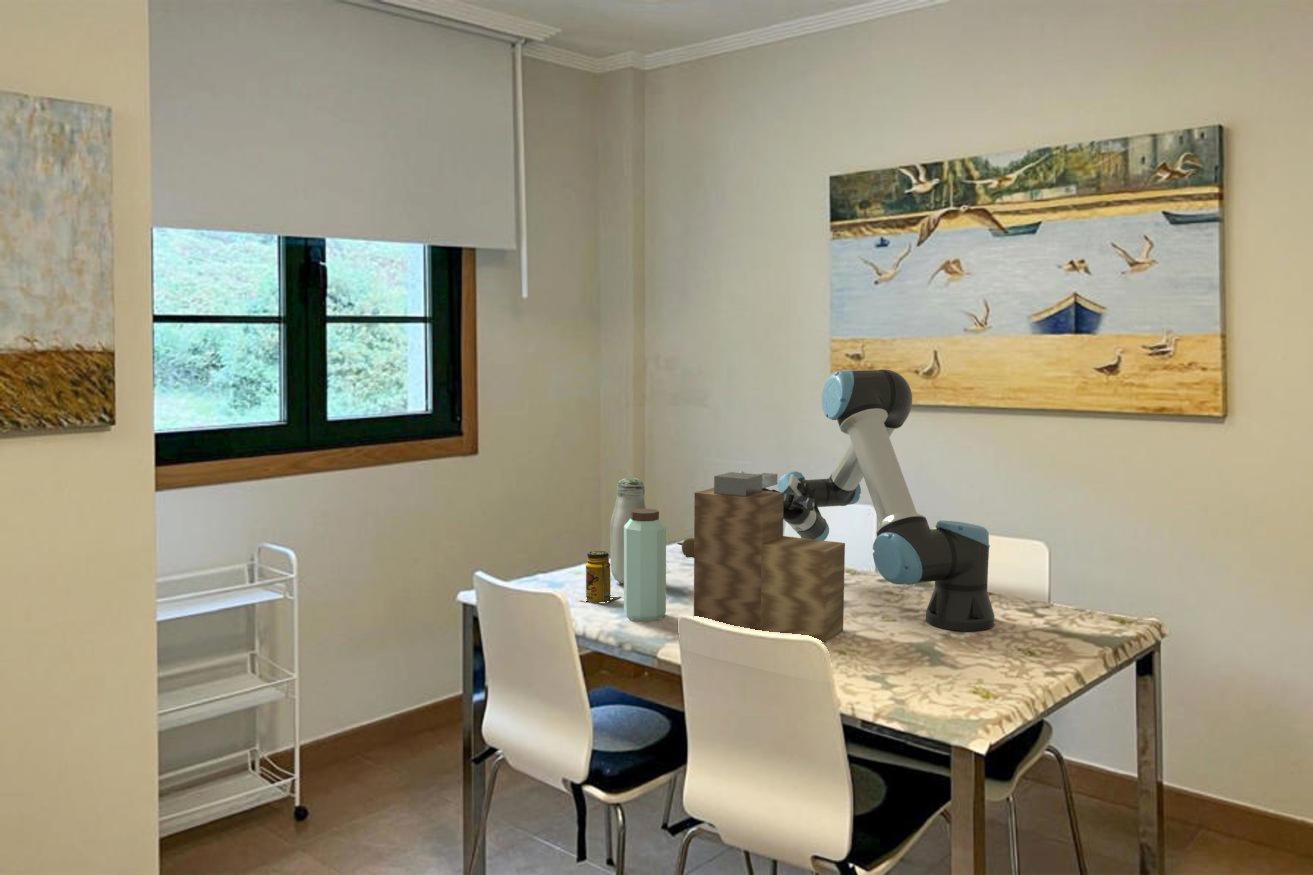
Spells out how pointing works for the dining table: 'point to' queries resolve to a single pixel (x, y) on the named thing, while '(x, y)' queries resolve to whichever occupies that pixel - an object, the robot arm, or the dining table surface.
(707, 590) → the stepped stand
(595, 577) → the condiment
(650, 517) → the water bottle
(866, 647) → the dining table surface
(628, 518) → the glass bottle
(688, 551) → the kendama
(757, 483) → the grey t-shaped block
